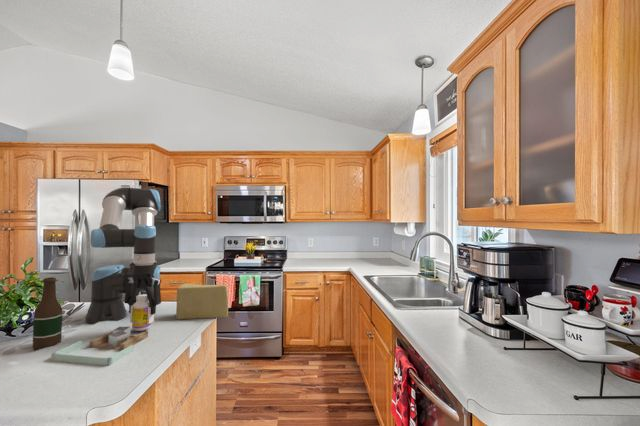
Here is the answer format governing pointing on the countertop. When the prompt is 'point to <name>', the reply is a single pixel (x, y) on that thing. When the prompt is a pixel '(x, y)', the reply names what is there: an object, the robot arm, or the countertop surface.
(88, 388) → the countertop surface
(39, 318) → the beer bottle
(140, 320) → the supplement bottle
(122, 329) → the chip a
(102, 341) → the slot board
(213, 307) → the tan rectangular block
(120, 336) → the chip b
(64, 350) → the tray
